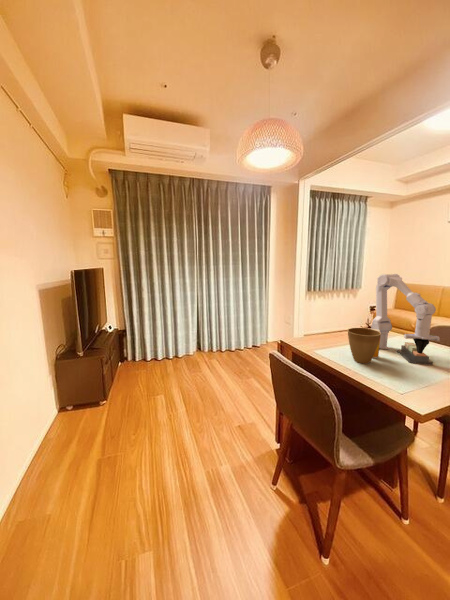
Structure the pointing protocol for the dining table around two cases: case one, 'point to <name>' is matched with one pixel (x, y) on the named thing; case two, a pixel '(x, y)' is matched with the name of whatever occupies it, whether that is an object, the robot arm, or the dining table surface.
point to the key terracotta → (418, 353)
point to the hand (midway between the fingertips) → (419, 352)
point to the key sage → (412, 348)
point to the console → (413, 357)
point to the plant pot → (363, 343)
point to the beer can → (377, 347)
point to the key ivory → (409, 344)
